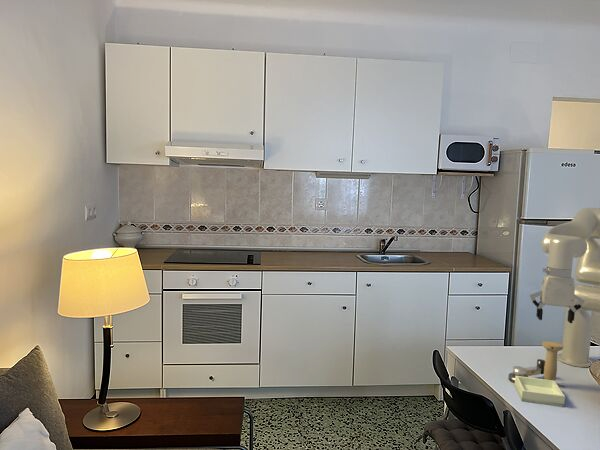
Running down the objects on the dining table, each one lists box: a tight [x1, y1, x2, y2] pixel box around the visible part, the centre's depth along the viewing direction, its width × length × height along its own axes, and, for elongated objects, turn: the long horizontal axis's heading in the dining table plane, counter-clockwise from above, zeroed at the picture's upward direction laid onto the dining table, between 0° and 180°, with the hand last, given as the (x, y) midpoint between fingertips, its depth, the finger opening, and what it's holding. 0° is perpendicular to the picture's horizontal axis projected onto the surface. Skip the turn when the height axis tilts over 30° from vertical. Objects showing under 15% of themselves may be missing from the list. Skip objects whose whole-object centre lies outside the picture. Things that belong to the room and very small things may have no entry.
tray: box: [514, 376, 566, 408], centre depth 161 cm, size 13×13×4 cm
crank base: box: [507, 372, 566, 388], centre depth 171 cm, size 7×19×2 cm, turn 76°
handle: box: [542, 340, 563, 382], centre depth 169 cm, size 5×6×15 cm
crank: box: [512, 358, 546, 377], centre depth 174 cm, size 14×4×5 cm, turn 111°
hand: (554, 320), depth 167 cm, fingers open, 9 cm apart
